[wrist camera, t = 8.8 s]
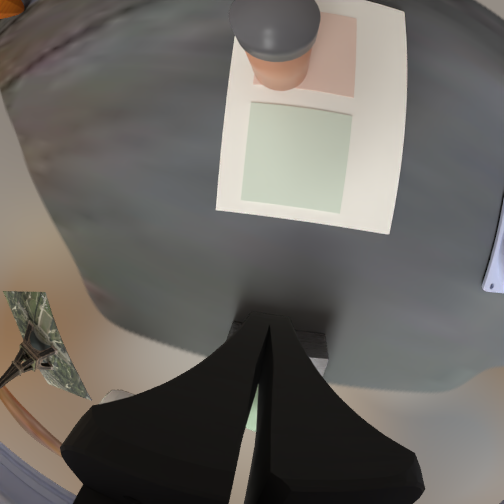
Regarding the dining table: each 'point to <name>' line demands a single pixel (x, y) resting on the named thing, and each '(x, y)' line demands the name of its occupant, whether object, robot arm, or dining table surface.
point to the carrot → (10, 8)
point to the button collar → (305, 346)
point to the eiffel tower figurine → (41, 344)
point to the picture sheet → (322, 126)
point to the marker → (276, 38)
